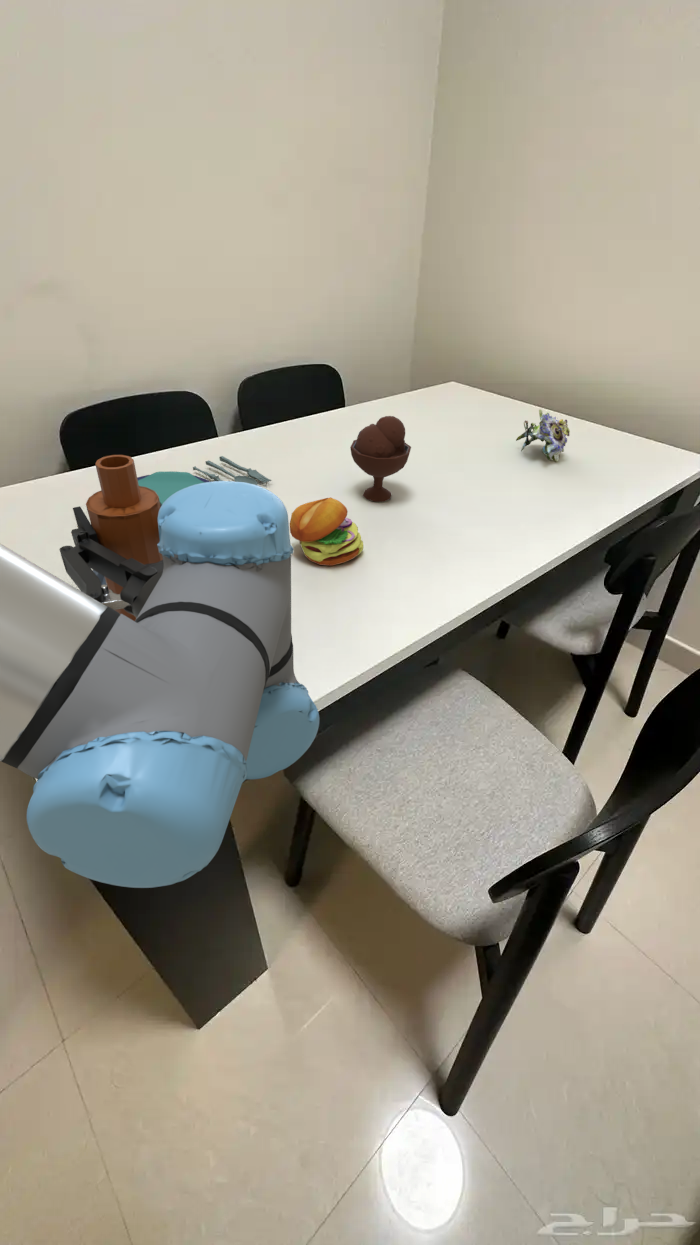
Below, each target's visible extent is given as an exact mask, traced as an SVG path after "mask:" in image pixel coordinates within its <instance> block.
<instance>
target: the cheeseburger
mask: <svg viewBox="0 0 700 1245" xmlns="http://www.w3.org/2000/svg"><path fill="white" fill-rule="evenodd" d="M290 515H291V516H290V519H289V520H290V521H289V534H290V535H291V537H292V538H294V539H295V540H296V541H299V544H300V547H301V549H302V551H303V554H304V556H305V557H306V558H307V559H308V560H309V561H310V562H312V563H315V564H317V565H320V566H335V565H340V564H344V563H346V562H348V561H350V560H353V559H355V558H356V557H358V556H360V554H361V553H362V551H363V549H364V542H363V539H362V535H361V533H360V532H359V527H358V526H357V524H356V523H355V522H354V521H352V519H350V518H348V517H347V516H348V508H347V507H346V505H344V504H343V503H342V502H341V501H340V500H338V499H336V498H333V497H324V498H321V499H316V500H313V501H309V502H306V503H302V504H300V505H298V506H297V507H296V508H295V509H294V510H293V511H292V512H291V514H290Z"/></svg>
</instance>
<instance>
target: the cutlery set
mask: <svg viewBox="0 0 700 1245" xmlns="http://www.w3.org/2000/svg"><path fill="white" fill-rule="evenodd" d="M219 462H222V463H225V464H227V465H229V466H230V467H232V468H234V469H236V470H239V471H242V472H245V473H246V474H247V475H235V474H234V473H233V472H230V471H229V470H227V469H225V468H224V467H222V466H220V465H219V464H217V463H215V462H213V461H211V460H210V459H208V460H206V461H205V462H204V463H205V465H207V466H209V467H212V468H214V469H216V470H218V471H220V472H222V473H224V474H225V475H228V476H230V477H231V478H233V479H234V482H245V483H250V484H254V485H257V486H259V485H258V481H259V482H261V483H263V484H264V483H265V484H267V483H270V482H272V481H273V480H272V479H271V478H268V477H266V476H265V475H264V474H262V473H260V472H258V471H257V469H252V468H251V467H249V468H247V467H245V466H241V465H240V464H238V463H236V462H234V461H232V460H231V459H229V458H227V457H225V456H223V455H220V456H219ZM192 471H198V472H199V473H202V474H204V475H205V476H207V477H208V478H209V479H210V480H213V481H224V480H223V479H222V478H220V476H219V475H216V474H215V473H209V472H208V471H205V470H202V469H200V468H198V467H197V466H196V465H195V466H192ZM137 479H138V485H139V486H142V487H147V488H149V489H151V490H154V491H155V492H156V493H157V495H158V496H159V501H160V503H161V504H163V503H164V502H165V501H166V500H167V498H169V497H170V496H171V495H173V494H174V493H176V492H177V491H179V490H182V489H184V488H187V487H189V486H192V485H196V484H200V483H206V482H211V481H210V480H209V479H206V478H203V477H200V476H198V475H193V474H192V473H191V472H188V471H172V470H171V471H156V472H153V473H151V474H146V475H141V476H137Z"/></svg>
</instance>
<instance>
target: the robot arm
mask: <svg viewBox="0 0 700 1245" xmlns="http://www.w3.org/2000/svg"><path fill="white" fill-rule="evenodd" d="M160 507H161V508H160V509H159V513H158V529H159V539H160V541H159V543H158V549H159V552H160V554H162V557H163V560H161V561H159V562H157V563H151V564H145V565H144V564H142V563H140V562H138V561H137V560H135V559H133V558H130V559H128V560H127V559H126V558H124V557H122V556H120V555H118V554H117V553H115V552H113V551H111V550H109V549H108V548H106V547H104V546H102V545H100V544H99V542H98V538H97V534H96V532H95V530H94V529H93V527H92V525H91V522H90V519H88V516H86V514H85V512H84V511H83V509H82V506H81V505H80V506H75V507H72V511H73V514H74V518H75V521H76V522H75V523H76V525H77V528H73V529H71V532H70V534H71V537H72V540H73V544H74V546H72V545H63V546H61V547H59V552H60V556H61V560H62V563H63V567H64V569H65V573H66V574H67V576H69V578H70V579H71V580H72V581H73V583H74V584H75V585H76V587H77V588H76V587H74V586H73V585H71V584H70V583H68V582H66V581H64V580H63V579H61V578H59V577H58V576H56V575H54V574H53V573H51V572H50V571H48V570H46V569H44V568H43V567H42V566H39V565H38V564H36V563H34V562H32V561H31V560H29V559H27V558H26V557H24V556H22V555H21V554H19V553H17V552H15V551H14V550H13V549H10V548H9V547H7V546H6V545H3V544H2V543H0V762H1V763H3V764H6V765H8V766H10V767H12V768H15V769H17V770H18V771H21V772H22V773H24V774H26V775H27V776H29V777H31V778H33V779H36V782H35V784H33V787H32V788H33V789H32V791H33V793H32V795H31V797H30V800H29V802H28V805H27V808H26V823H27V828H28V831H29V832H30V835H31V837H32V839H33V840H34V842H35V844H36V845H37V847H39V849H40V850H42V851H43V852H45V853H46V854H47V855H49V856H50V855H51V856H54V857H57V858H59V859H60V861H61V864H62V865H63V867H64V868H65V869H67V870H68V871H70V872H72V873H75V874H77V875H79V876H81V877H84V878H87V879H89V880H92V881H96V882H99V883H103V884H107V885H111V886H117V887H122V888H123V887H124V888H132V889H133V888H134V889H149V888H150V889H152V888H158V887H166V886H171V885H174V884H176V883H180V882H184V881H185V880H187V879H189V878H191V877H192V876H194V875H195V874H197V873H198V872H201V871H202V870H203V869H204V868H206V867H207V866H208V865H209V863H211V861H212V860H213V859H214V857H215V856H216V855H217V853H218V851H219V849H220V847H221V845H222V842H223V841H224V837H225V834H226V831H227V828H228V825H229V823H230V820H231V817H232V814H233V811H234V807H235V805H236V802H237V800H238V796H239V793H240V790H241V788H242V785H243V783H244V782H245V781H246V780H259V779H260V780H261V779H264V778H268V777H271V776H273V775H274V774H277V773H279V772H280V771H282V770H286V769H287V768H289V767H290V766H291V765H293V764H294V763H296V762H297V761H298V760H299V759H301V757H302V756H304V754H305V753H306V752H307V751H308V750H309V748H310V747H311V746H312V744H313V742H314V741H315V738H316V737H317V734H318V731H319V727H320V713H319V710H318V707H317V705H316V704H315V702H314V701H313V699H312V698H311V696H310V695H309V690H308V688H307V687H306V686H305V685H304V684H303V683H300V682H299V681H298V679H297V677H296V674H295V670H294V643H293V635H292V634H293V633H292V555H293V554H294V547H293V546H292V544H291V537H290V535H291V534H290V521H289V512H288V510H287V507H286V505H285V504H284V502H283V501H282V500H281V498H280V497H279V496H278V495H277V494H275V493H273V492H272V491H271V490H269V489H267V488H264V487H263V486H260V485H254V484H250V483H245V482H235V480H234V481H233V480H223V481H214V480H213V481H210V482H206V483H200V484H196V485H192V486H189V487H187V488H184V489H182V490H179V491H177V492H176V493H174V494H173V495H171V496H170V497H169V498H167V500H166V501H165V502H164V503H163V504H161V503H160ZM93 570H95V571H96V572H98V573H100V574H101V575H103V576H105V577H106V578H108V579H110V580H111V581H113V582H115V583H117V584H118V585H120V586H122V587H123V589H122V591H121V593H120V594H115V593H113V591H112V590H110V589H108V586H107V585H105V584H103V585H101V582H100V579H99V578H98V577H97V575H96V574H95V573H94V572H93ZM117 609H124V610H125V611H126V612H128V613H130V614H132V615H134V616H135V617H136V620H135V621H133V620H132V619H130V618H128V617H126V616H125V615H123V614H120V613H119V612H117V611H115V610H117Z"/></svg>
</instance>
